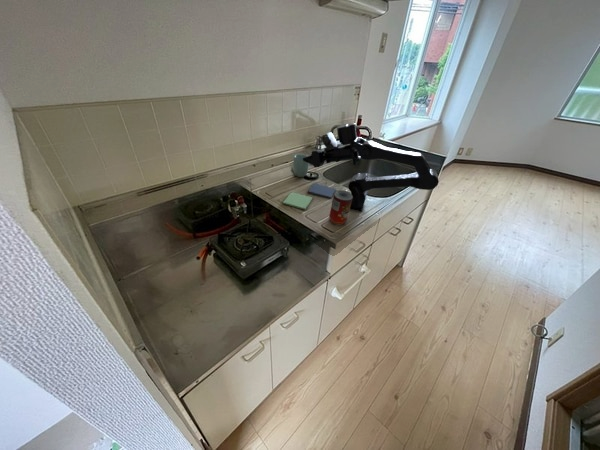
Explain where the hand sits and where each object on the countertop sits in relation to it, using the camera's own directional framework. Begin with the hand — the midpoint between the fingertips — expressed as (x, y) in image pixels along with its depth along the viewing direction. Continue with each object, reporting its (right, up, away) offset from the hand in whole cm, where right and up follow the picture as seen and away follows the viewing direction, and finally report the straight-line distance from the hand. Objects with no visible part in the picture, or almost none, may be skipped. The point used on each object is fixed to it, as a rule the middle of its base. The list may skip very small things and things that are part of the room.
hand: (308, 157), depth 103 cm
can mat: (+7, -13, +10) cm, 18 cm away
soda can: (+11, -27, -8) cm, 31 cm away
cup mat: (-5, -19, 0) cm, 19 cm away
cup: (-4, -3, +21) cm, 22 cm away
